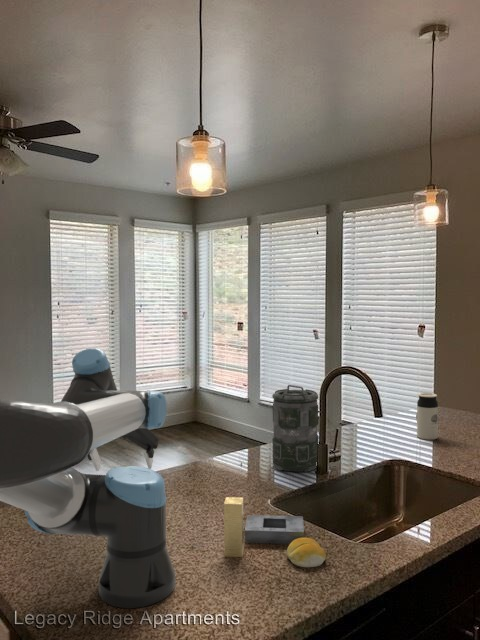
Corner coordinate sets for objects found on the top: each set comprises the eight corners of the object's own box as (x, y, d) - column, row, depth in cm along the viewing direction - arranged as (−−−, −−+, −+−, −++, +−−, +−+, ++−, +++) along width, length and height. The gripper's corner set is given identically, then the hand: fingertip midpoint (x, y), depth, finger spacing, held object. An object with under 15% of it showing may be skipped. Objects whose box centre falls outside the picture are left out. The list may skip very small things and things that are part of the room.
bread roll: (315, 547, 124) (315, 530, 124) (330, 566, 115) (330, 548, 115) (281, 551, 122) (281, 534, 122) (294, 570, 113) (294, 552, 113)
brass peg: (242, 557, 119) (241, 504, 118) (224, 556, 119) (224, 503, 119) (243, 548, 123) (243, 497, 122) (226, 548, 123) (226, 497, 123)
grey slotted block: (304, 544, 125) (304, 532, 125) (244, 542, 126) (244, 530, 126) (302, 528, 134) (302, 516, 134) (247, 526, 135) (247, 514, 135)
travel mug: (413, 436, 222) (413, 393, 221) (429, 434, 224) (429, 392, 224) (425, 440, 215) (425, 396, 214) (441, 439, 217) (442, 395, 216)
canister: (263, 465, 184) (262, 385, 183) (294, 456, 195) (293, 380, 194) (297, 476, 172) (296, 391, 171) (328, 466, 183) (327, 385, 182)
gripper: (159, 392, 126) (174, 452, 138) (58, 397, 128) (81, 455, 140) (154, 415, 120) (170, 475, 132) (48, 420, 122) (73, 479, 134)
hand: (124, 465), depth 136 cm, fingers open, 13 cm apart
